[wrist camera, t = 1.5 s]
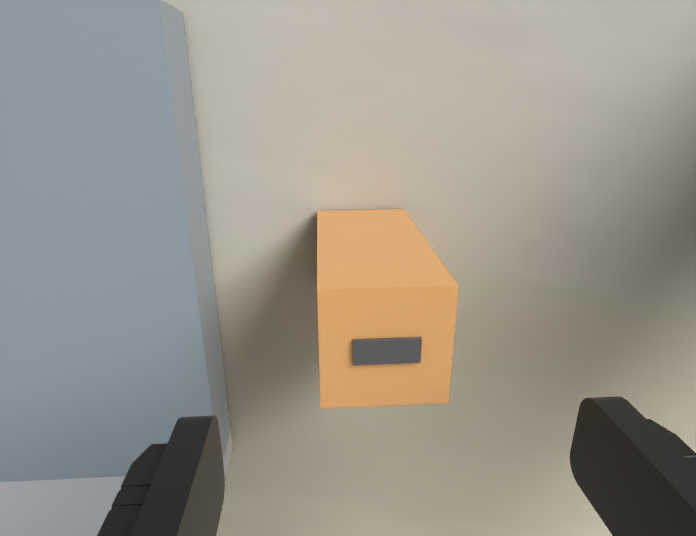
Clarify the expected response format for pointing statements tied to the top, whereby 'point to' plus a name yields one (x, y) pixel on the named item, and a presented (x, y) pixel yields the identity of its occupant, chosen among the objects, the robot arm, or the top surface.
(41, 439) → the grey slotted stand
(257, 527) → the top surface
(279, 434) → the top surface
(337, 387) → the block
